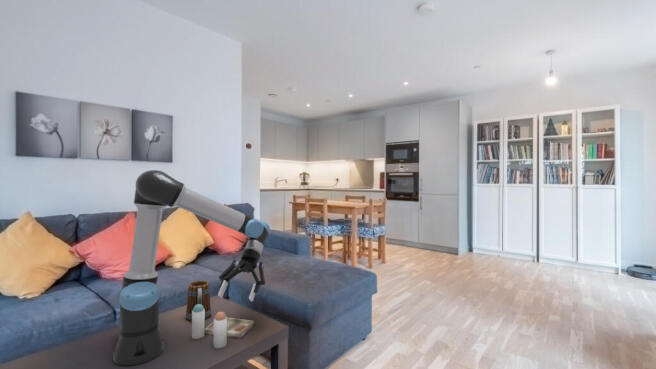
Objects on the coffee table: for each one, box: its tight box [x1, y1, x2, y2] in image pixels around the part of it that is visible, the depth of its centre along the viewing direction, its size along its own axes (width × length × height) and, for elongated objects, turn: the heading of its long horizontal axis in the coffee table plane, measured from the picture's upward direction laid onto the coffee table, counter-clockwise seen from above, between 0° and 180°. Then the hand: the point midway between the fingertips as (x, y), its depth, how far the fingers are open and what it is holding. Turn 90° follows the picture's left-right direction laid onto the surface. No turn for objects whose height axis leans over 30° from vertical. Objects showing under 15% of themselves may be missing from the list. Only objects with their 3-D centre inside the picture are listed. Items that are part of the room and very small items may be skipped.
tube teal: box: [191, 304, 206, 340], centre depth 122 cm, size 5×5×12 cm
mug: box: [185, 279, 212, 322], centre depth 137 cm, size 16×11×15 cm
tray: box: [204, 316, 256, 340], centre depth 128 cm, size 16×12×2 cm
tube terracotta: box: [212, 311, 228, 349], centre depth 116 cm, size 5×5×12 cm
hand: (234, 298), depth 125 cm, fingers open, 13 cm apart
